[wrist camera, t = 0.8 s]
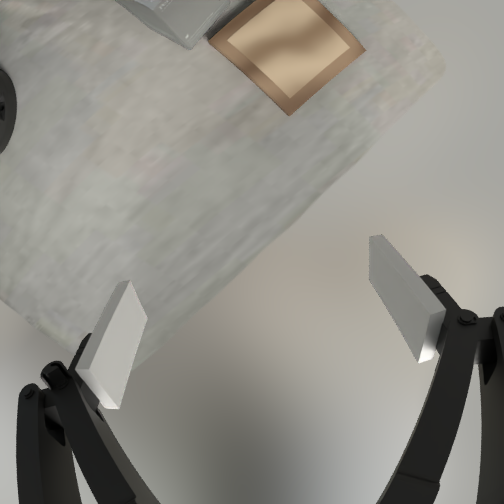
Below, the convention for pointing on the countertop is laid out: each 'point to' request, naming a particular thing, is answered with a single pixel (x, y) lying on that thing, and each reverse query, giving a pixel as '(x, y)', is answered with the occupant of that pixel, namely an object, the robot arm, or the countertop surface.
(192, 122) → the countertop surface
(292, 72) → the tan flat square board
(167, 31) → the skincare box
